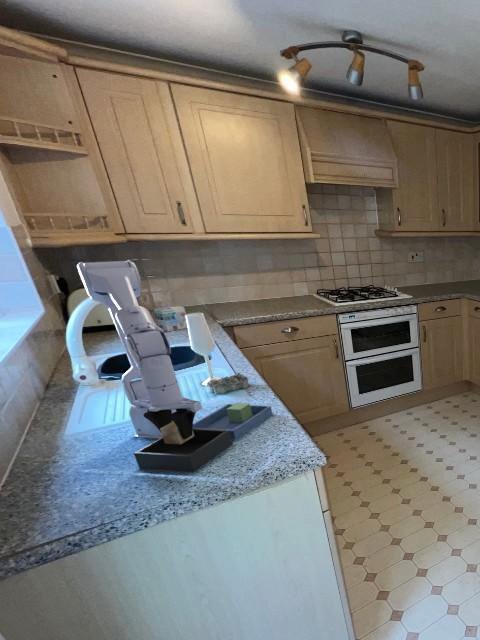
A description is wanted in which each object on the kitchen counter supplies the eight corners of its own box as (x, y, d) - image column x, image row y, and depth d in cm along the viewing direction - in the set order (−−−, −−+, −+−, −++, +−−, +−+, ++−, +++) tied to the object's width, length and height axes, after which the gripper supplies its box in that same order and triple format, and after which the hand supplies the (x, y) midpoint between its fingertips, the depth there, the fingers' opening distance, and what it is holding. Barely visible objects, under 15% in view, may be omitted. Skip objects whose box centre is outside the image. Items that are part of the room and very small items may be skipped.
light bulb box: (168, 332, 202) (161, 310, 198) (159, 330, 204) (152, 309, 200) (190, 327, 211) (184, 306, 207) (182, 326, 213) (176, 305, 209)
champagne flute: (221, 384, 140) (203, 315, 131) (198, 386, 138) (178, 317, 129) (227, 377, 145) (209, 311, 137) (205, 379, 143) (186, 312, 134)
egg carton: (216, 396, 130) (213, 384, 129) (207, 390, 134) (204, 379, 133) (252, 386, 138) (249, 375, 137) (242, 381, 142) (240, 370, 141)
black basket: (140, 470, 92) (133, 453, 90) (184, 443, 103) (179, 427, 101) (194, 473, 91) (189, 456, 89) (233, 445, 102) (229, 430, 100)
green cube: (229, 421, 113) (226, 408, 112) (239, 415, 117) (236, 402, 115) (243, 422, 113) (239, 409, 111) (252, 416, 117) (249, 403, 115)
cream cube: (164, 443, 95) (159, 428, 93) (179, 435, 98) (174, 420, 97) (180, 444, 94) (175, 429, 93) (194, 436, 98) (190, 421, 97)
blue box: (188, 438, 105) (184, 428, 104) (230, 413, 119) (227, 403, 118) (236, 441, 104) (233, 430, 103) (272, 415, 118) (270, 406, 117)
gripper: (113, 388, 88) (134, 443, 93) (176, 392, 87) (193, 446, 92) (143, 377, 94) (161, 428, 99) (202, 380, 93) (217, 431, 98)
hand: (178, 436), depth 96 cm, fingers closed on cream cube, 4 cm apart
